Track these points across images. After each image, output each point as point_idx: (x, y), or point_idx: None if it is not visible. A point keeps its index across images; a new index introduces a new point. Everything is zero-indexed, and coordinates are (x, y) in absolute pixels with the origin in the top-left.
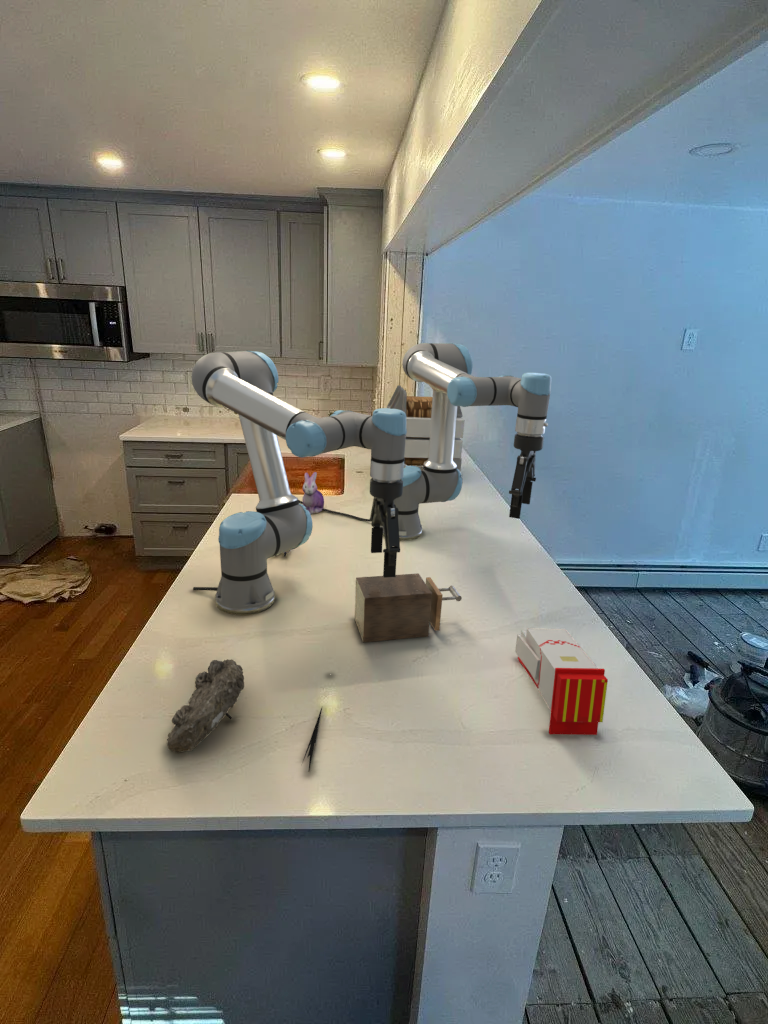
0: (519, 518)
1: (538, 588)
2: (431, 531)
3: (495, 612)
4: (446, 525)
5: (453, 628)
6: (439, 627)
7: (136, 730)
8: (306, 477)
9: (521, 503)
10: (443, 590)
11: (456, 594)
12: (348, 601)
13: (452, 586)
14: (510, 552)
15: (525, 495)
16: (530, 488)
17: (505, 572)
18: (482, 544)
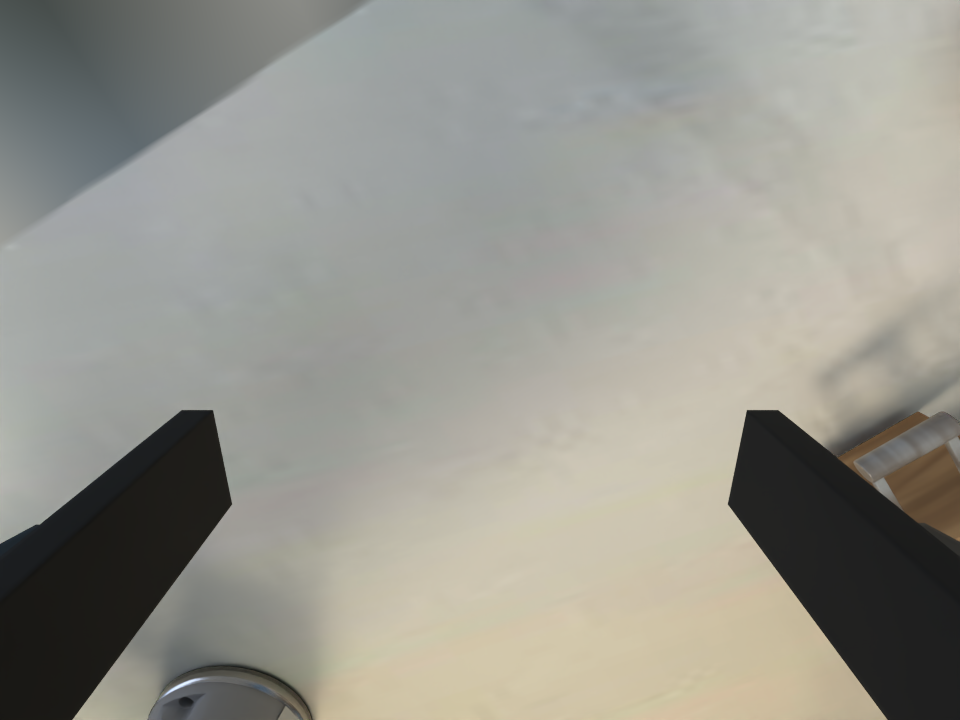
0: (766, 410)
1: (408, 158)
2: (149, 650)
3: (699, 278)
4: None
5: (859, 376)
6: (926, 416)
7: None
8: None
9: (894, 522)
10: (890, 490)
11: (949, 440)
12: (784, 664)
13: (880, 473)
14: (116, 351)
15: (166, 523)
16: (67, 559)
17: (334, 324)
18: None
